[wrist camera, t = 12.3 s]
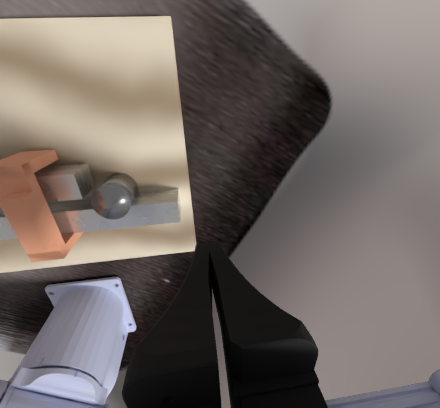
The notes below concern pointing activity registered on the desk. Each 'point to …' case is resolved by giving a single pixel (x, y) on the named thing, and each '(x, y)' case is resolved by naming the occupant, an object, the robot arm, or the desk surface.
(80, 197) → the bar
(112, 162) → the board
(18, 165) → the collar
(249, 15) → the desk surface
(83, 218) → the tong base
